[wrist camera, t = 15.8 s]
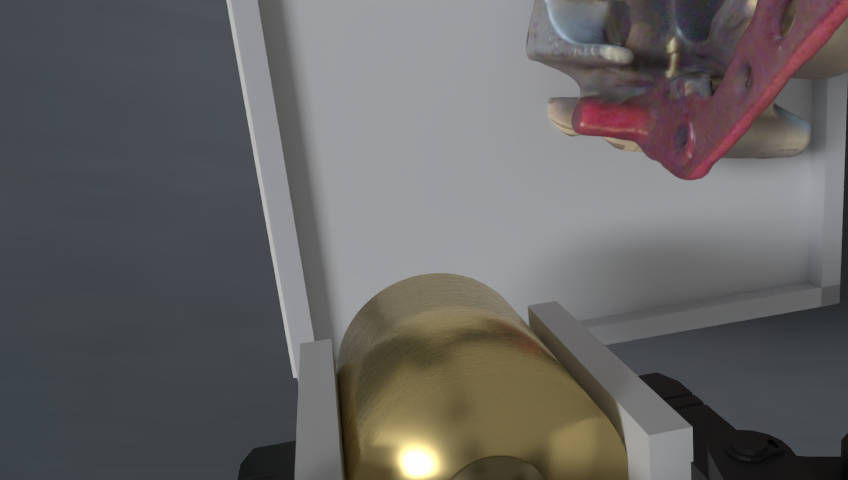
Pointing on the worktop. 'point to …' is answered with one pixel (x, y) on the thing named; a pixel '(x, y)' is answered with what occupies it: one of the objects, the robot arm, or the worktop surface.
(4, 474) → the worktop surface
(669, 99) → the brake caliper
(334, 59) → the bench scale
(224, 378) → the worktop surface
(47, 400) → the worktop surface
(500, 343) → the brass spacer
